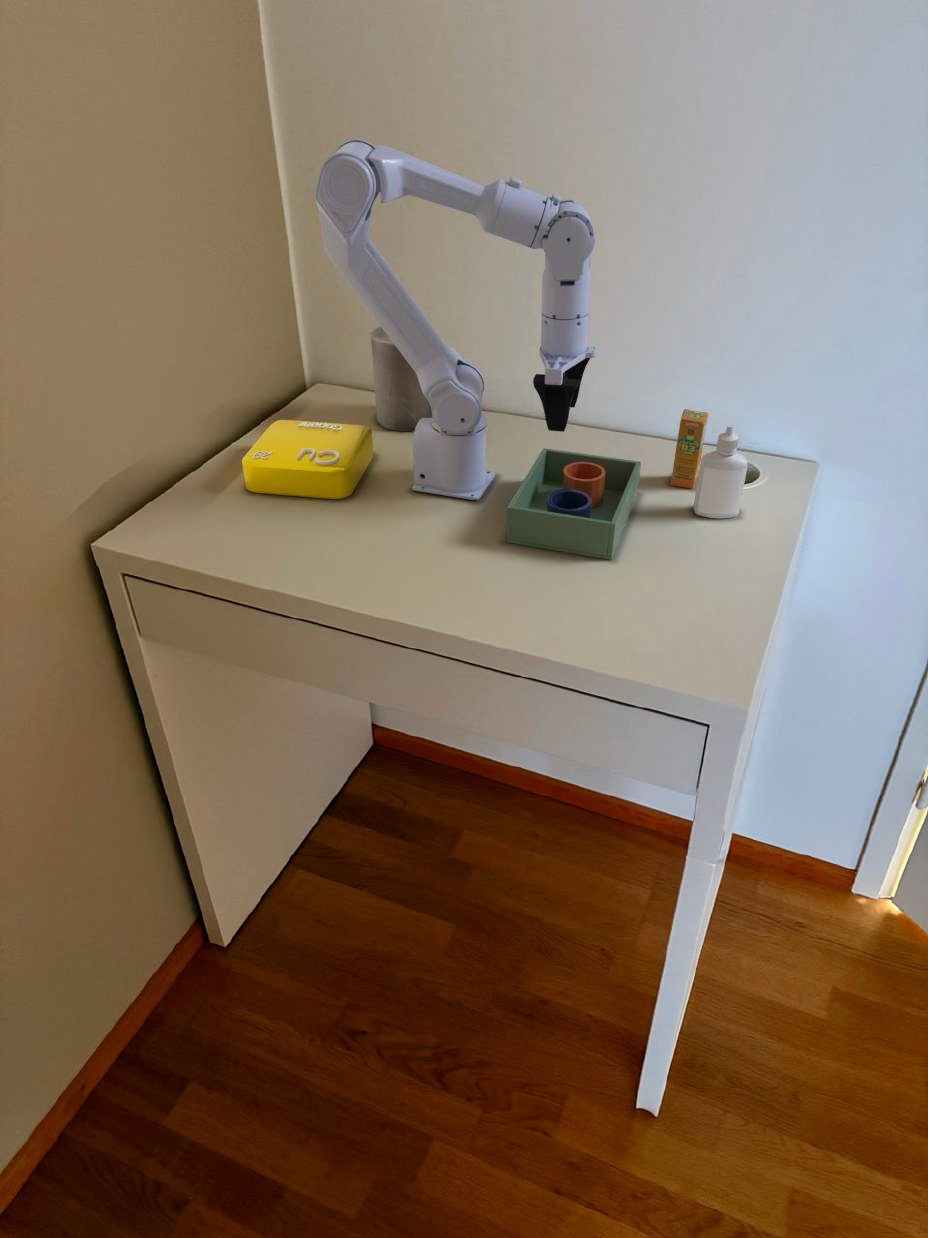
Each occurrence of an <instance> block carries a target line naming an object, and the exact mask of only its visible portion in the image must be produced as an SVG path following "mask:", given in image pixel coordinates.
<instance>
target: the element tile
mask: <svg viewBox="0 0 928 1238" xmlns="http://www.w3.org/2000/svg"><path fill="white" fill-rule="evenodd" d="M373 445H374V444H373V432H372V430H371V428H370V427H369V426H368V425H361V424H350V423H337V422H336V423H335V422H322V421H320V422H319V421H306V420H305V421H304V420H294V419H293V420H292V419H278V420H275V421H274V422H273V423H271V424H270V425H269V427H267V428H266V430H265V431H264V432H263V434H262V435H261V436H260V437H259V438H258V439H257V441H256V442H255V443H254V444H253V445H252V446H251V448H250V449H249V450H248V451H247V452H246V454H245V455H244V456H243V457H242V459H241V464H242V471H243V477H244V483H245V489H247V490H248V491H249V492H252V493H256V494H265V495H276V496H277V495H278V496H288V497H289V496H291V497H301V498H313V499H326V500H327V499H328V500H341V499H345V498H348V497H349V496H351V495H352V494H353V493H354V490H355V489H356V487H357V486H358V484H359V482H360V480H361V479H362V477H363V475H364V474H365V472H366V470H367V468H368V466H369V465H370V463H371V462H372V460H373V458H374V446H373Z"/></svg>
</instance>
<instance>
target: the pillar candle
mask: <svg viewBox="0 0 928 1238" xmlns="http://www.w3.org/2000/svg"><path fill="white" fill-rule="evenodd" d="M369 335H370V343H371V357H372V370H373V371H372V372H373V385H374V386H373V387H374V398H375V412H376V413H375V414H376V421H377V422H378V423H379V424H380V426H381V427H383V428H385V429H387V430H389V431H390V430H391V431H397V432H413V431H414V432H415V428H416V426H417V424H418V422H419V420H420V419H422V418H432V409H431V406H430V403H429V401H428V400H427V399H426V397H425V396H424V394H423V392H422V389H421V386H420V383H419V380H418V377H417V375H416V372H415V371H414V370H413V368H412V367H411V366H410V364H409V363H408V362H407V360H406V359H405V358H404V356H403V355H402V354H401V352H400V351H399V350H398V348H397V347H396V346H395V344H394V343H393V342H392V340H391V339H390V338H389V336H388V335H387V334H386V332H385V331H384V330H383V328H382V327H381V326H380V325H379V326H376V327H374V328H373V329H372V331H370V334H369Z"/></svg>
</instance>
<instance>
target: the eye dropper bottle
mask: <svg viewBox="0 0 928 1238" xmlns="http://www.w3.org/2000/svg"><path fill="white" fill-rule="evenodd" d="M734 429H735V427H734V425H733V424H728V425H727V426H726V428H725V431H724V432H721V433H720V434H718V438H717V443H716V448H715V450H713V451H710V452H707V453H705V454H704V455H702V456H701V460H700V467H699V473H698V479H697V481H696V486H695V487H696V488H695V495H694V500H693V510H694V513H695V515H697V516H701V517H703V518H709V519H731V518H735V517H737V516H739V512H740V508H741V502H742V497H743V493H744V487H745V481H746V477H747V471H748V460H747V458H746V457H745V455H743V454H741V453H739V452H737V450H738V447H739V446H738V445H739V440H740V437H739V436H738V434H737V433H735V430H734Z"/></svg>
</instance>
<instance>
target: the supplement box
mask: <svg viewBox="0 0 928 1238" xmlns="http://www.w3.org/2000/svg"><path fill="white" fill-rule="evenodd" d="M708 419H709V412H707V411H698V410H692V409H689V408H688V409H687V408H685V409H683V411H682V414H681V417H680V422H679V429H678V434H677V440H676V447H675V453H674V454H675V455H674V460H673V467H672V473H671V480H670V486H672V487H679V488H686V489H694V487H695V486H696V484H697V481H698V475H699V469H700V463H701V459H702V454H703V449H704V442H705V436H706V431H707V430H706V429H707V425H708Z"/></svg>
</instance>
